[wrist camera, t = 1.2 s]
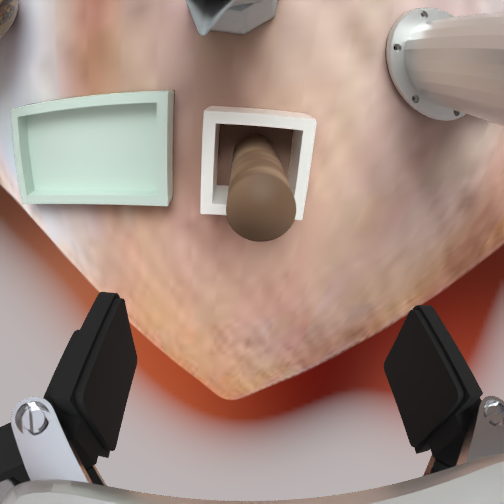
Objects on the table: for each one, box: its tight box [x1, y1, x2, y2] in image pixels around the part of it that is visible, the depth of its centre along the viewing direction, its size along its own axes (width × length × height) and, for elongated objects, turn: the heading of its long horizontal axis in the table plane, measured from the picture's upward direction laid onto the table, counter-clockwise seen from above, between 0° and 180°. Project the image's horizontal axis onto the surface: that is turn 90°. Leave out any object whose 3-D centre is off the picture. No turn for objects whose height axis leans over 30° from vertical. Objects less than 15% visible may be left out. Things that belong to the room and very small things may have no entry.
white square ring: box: [201, 106, 317, 220], centre depth 28 cm, size 9×9×5 cm
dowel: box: [226, 134, 296, 242], centre depth 24 cm, size 4×4×14 cm
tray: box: [11, 90, 174, 206], centre depth 28 cm, size 18×11×2 cm, turn 85°
